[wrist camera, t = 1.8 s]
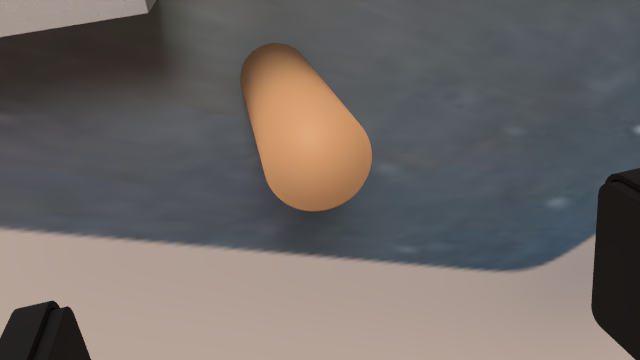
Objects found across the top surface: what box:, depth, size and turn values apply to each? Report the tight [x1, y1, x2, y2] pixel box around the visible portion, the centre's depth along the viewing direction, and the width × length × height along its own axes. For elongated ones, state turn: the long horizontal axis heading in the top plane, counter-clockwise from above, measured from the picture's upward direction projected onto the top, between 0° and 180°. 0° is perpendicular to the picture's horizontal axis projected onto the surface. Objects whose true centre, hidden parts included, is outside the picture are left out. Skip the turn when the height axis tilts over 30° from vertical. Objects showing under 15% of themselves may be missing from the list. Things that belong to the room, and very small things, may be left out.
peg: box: [241, 43, 372, 211], centre depth 20 cm, size 3×3×10 cm
